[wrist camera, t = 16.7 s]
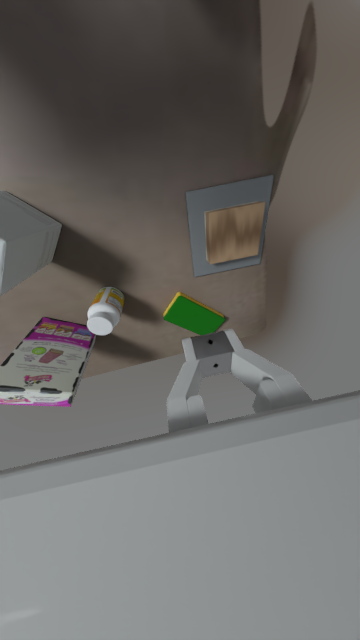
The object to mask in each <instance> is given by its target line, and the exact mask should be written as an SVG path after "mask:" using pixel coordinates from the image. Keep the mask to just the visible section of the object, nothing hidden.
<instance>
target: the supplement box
mask: <svg viewBox="0 0 360 640" xmlns="http://www.w3.org/2000/svg"><path fill="white" fill-rule="evenodd" d="M61 227H62V224H61V223H59V222H57V221H55V220H54V219H52V218H50V217H49V216H47V215H45V214H44V213H42V212H40V211H38V210H37V209H35V208H33V207H32V206H30V205H28V204H27V203H25V202H23V201H21V200H20V199H18V198H16V197H15V196H13V195H11V194H9V193H8V192H6V191H0V296H1V295H2V294H4V293H6V292H7V291H9V290H10V289H12V288H13V287H15V286H16V285H18V284H19V283H21V282H22V281H24V280H25V279H27V278H28V277H30V276H31V275H32V274H34V273H35V272H37V271H38V270H40V269H41V268H43V267H45V266H46V265H48V264H49V263H51V262H52V259H53V256H54V253H55V249H56V245H57V242H58V238H59V234H60V231H61Z"/></svg>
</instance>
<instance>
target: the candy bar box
mask: <svg viewBox="0 0 360 640" xmlns="http://www.w3.org/2000/svg"><path fill="white" fill-rule="evenodd" d="M95 339H96V334H94V333H92V332H91V331H90V330H89V329H88V327H87V326H86V325H81V324H76V323H71V322H65V321H60V320H55V319H50V318H45V317H42V318H41V320H40V321H39V322H38V323H37V324H36V325H35V326H34V327H33V329H32V330H31V331H30V332H29V333H28V334H27V336H26V337H25V338H24V339H23V340H22V342H21V343H20V344H19V345H18V346H17V347H16V349H15V350H14V351H13V352H12V353H11V354H10V355H9V356H8V358H7V359H6V360H5V361H4V362H3V363H2V365H1V366H0V404H8V405H36V406H37V405H38V406H39V405H40V406H66V407H67V406H68V407H71V405H72V403H73V400H74V397H75V395H76V392H77V389H78V386H79V383H80V381H81V378H82V376H83V373H84V370H85V368H86V365H87V362H88V359H89V357H90V354H91V351H92V349H93V346H94V343H95Z"/></svg>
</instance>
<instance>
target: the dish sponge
mask: <svg viewBox="0 0 360 640" xmlns="http://www.w3.org/2000/svg"><path fill="white" fill-rule="evenodd" d="M163 316H164V320H166V321H168V322H171V323H173V324H176V325H178V326H180V327H183V328H185V329H188V330H190V331H192V332H195V333H197V334H199V335H205V334H209V333H213V332H215V331H216V330H217V328H218V327H219V326H220V325H221V324H222V323H223V322H224V321H225V318H224V316H223V314H221V313H219V312H217V311H215V310H213V309H211V308H210V307H208V306H206V305H204V304H202V303H200V302H198V301H196V300H194V299H192V298H191V297H189V296H187V295H185V294H183V293H181V292H178V293H177V294H176V296H175V297H174V299H173V300H172V301H171V303H170V304H169V306H168V307H167V309H166V310H165V312H164V313H163Z"/></svg>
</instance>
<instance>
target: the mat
mask: <svg viewBox="0 0 360 640" xmlns="http://www.w3.org/2000/svg"><path fill="white" fill-rule="evenodd" d="M273 177H274V175H269V176H264V177H259V178H254V179H249V180H244V181H239V182H234V183H229V184H224V185H219V186H214V187H209V188H204V189H198V190H193V191H188V192H185V195H186V204H187V214H188V223H189V233H190V242H191V252H192V261H193V271H194V277H197V276H202V275H207V274H212V273H217V272H222V271H226V270H231V269H236V268H241V267H246V266H251V265H256V264H260V260H261V254H262V247H263V241H264V235H265V228H266V222H267V215H268V209H269V203H270V196H271V190H272V183H273ZM252 202H265V209H264V216H263V223H262V229H261V236H260V243H259V250H258V255H254V256H249V257H244V258H239V259H234V260H229V261H224V262H219V263H214V264H210V263H209V262H208V261H207V256H206V234H205V212H206V211H211V210H216V209H221V208H227V207H232V206H237V205H242V204H247V203H252Z"/></svg>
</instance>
